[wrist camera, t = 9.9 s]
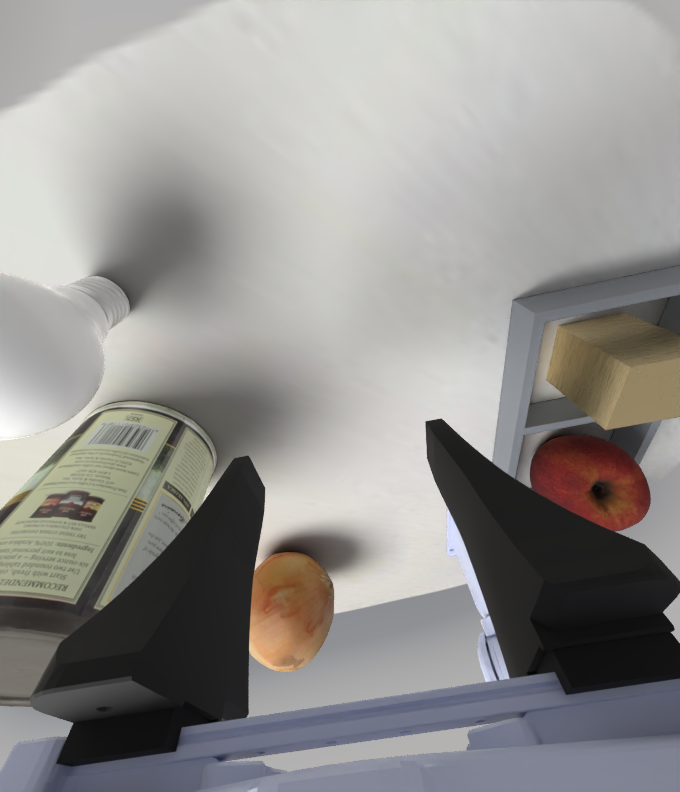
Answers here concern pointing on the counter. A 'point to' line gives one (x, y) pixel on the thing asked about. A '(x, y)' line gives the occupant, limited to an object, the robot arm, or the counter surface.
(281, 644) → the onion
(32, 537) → the coffee can
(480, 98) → the counter surface
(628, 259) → the counter surface
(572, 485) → the apple
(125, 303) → the lightbulb
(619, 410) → the wooden block
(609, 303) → the grey divided tray
